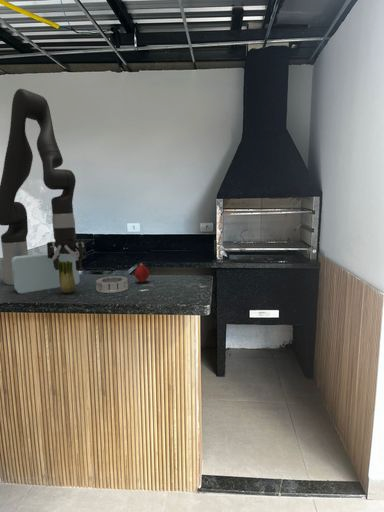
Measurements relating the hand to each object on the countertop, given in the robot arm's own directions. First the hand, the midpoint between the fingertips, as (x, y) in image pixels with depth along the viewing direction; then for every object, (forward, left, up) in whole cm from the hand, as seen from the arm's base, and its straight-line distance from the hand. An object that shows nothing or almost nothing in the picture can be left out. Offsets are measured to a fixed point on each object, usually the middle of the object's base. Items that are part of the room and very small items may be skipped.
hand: (68, 269), depth 125 cm
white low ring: (+14, +8, -9) cm, 18 cm away
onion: (+22, +19, -9) cm, 30 cm away
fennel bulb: (0, 0, -9) cm, 9 cm away
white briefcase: (-12, +5, -9) cm, 16 cm away
